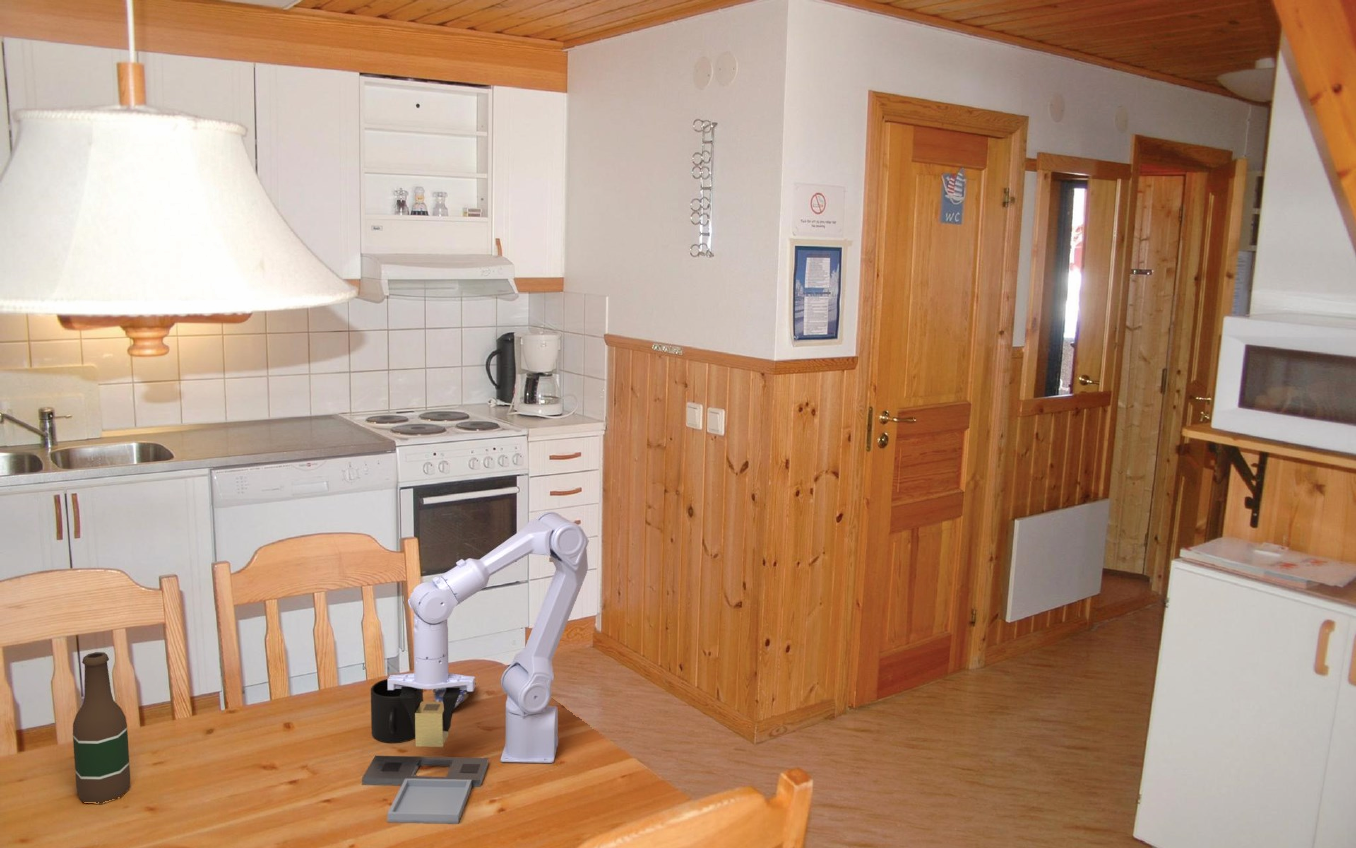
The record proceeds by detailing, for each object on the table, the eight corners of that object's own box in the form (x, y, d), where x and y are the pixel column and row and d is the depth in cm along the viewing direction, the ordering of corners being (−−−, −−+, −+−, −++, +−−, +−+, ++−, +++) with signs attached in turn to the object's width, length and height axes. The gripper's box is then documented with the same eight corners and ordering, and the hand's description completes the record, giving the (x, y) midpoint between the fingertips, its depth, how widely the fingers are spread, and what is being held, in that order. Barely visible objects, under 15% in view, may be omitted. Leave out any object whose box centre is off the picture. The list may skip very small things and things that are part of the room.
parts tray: (471, 788, 173) (471, 779, 173) (458, 823, 162) (458, 815, 162) (405, 786, 173) (405, 778, 173) (387, 822, 162) (387, 813, 162)
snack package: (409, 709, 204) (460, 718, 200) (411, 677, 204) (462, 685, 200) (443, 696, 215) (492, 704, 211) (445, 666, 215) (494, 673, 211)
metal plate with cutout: (488, 764, 182) (488, 757, 182) (480, 787, 174) (480, 780, 174) (375, 762, 182) (375, 755, 181) (362, 784, 174) (362, 777, 173)
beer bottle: (80, 786, 171) (70, 649, 167) (132, 778, 174) (124, 643, 170) (73, 809, 164) (63, 667, 160) (128, 801, 167) (120, 660, 163)
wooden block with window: (448, 734, 179) (448, 701, 178) (442, 746, 174) (442, 713, 173) (422, 734, 179) (421, 701, 178) (415, 746, 174) (415, 712, 173)
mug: (364, 751, 185) (363, 704, 184) (376, 721, 197) (375, 677, 196) (417, 749, 187) (417, 702, 185) (426, 720, 198) (425, 676, 197)
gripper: (478, 645, 178) (478, 719, 180) (394, 644, 178) (396, 717, 180) (470, 661, 171) (470, 737, 174) (383, 659, 171) (385, 735, 173)
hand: (432, 728), depth 176 cm, fingers closed on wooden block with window, 5 cm apart
